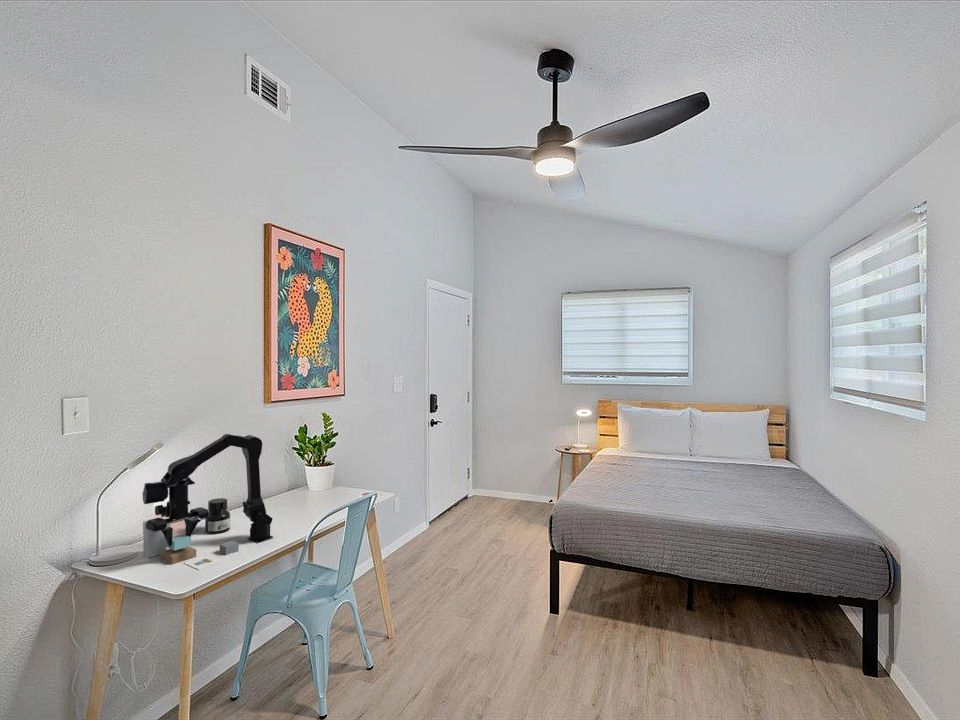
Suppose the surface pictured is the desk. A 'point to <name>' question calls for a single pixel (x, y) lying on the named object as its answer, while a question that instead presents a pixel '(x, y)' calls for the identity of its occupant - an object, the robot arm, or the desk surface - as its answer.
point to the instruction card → (201, 563)
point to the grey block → (229, 547)
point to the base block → (177, 555)
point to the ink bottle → (217, 516)
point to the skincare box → (153, 542)
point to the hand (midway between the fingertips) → (178, 543)
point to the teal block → (179, 542)
